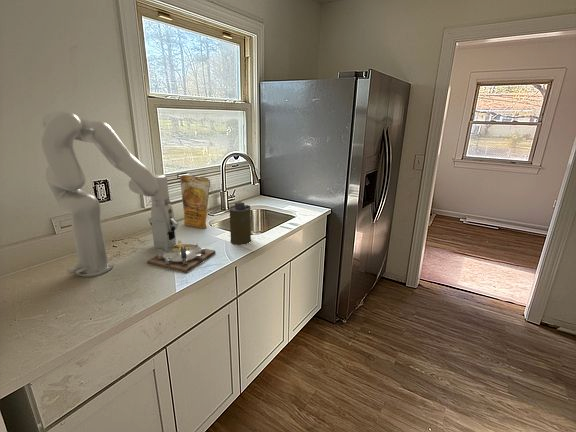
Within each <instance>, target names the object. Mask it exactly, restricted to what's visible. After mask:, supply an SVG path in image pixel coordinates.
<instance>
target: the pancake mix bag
mask: <svg viewBox="0 0 576 432" xmlns="http://www.w3.org/2000/svg"><path fill="white" fill-rule="evenodd" d="M179 178H180V189H181V201H182V206H183V207H182V209H183V215H184V217H183V219H184V221H183V224H184V225H185V226H188V227H192V228H197V229H207V224H206V222H207V216H208V215H207V214H208V204H209V199H210V198H209V194H210V187H211V180H210V179H209V178H207V177H201V176H200V177H199V176H194V175H185V174H182V175H180V176H179Z"/></svg>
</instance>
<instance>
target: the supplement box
mask: <svg viewBox="0 0 576 432" xmlns="http://www.w3.org/2000/svg"><path fill="white" fill-rule="evenodd" d="M169 225H171V222H170V224H169ZM173 226H174V225H173ZM170 228H171V226H170ZM151 229H152V240H153V248H155V249H162V250H163V248H165V247H168V248H169V247H172V246H175V245H177V238H176V236H175V238H174V239H172V240H169V233H168V232H169V230H168V227H167V224H166V223H162V222H156V221H154V222H152V226H151ZM174 233H175V234H176V229H175V230H174Z"/></svg>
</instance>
